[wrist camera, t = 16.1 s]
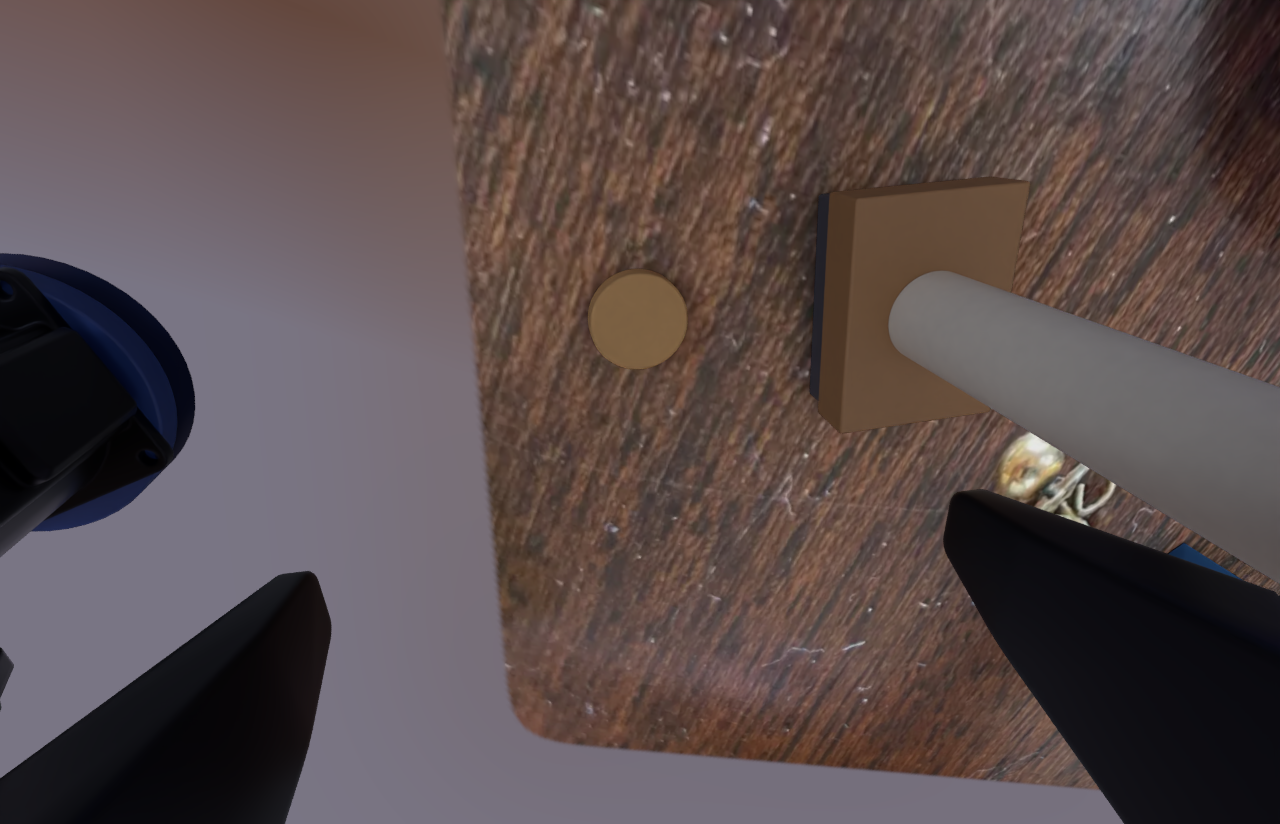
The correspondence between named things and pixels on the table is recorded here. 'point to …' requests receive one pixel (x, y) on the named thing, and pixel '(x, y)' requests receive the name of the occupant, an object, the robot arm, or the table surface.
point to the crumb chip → (637, 319)
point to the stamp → (1029, 360)
